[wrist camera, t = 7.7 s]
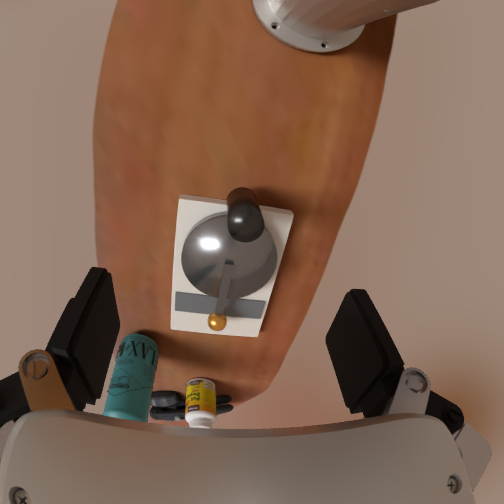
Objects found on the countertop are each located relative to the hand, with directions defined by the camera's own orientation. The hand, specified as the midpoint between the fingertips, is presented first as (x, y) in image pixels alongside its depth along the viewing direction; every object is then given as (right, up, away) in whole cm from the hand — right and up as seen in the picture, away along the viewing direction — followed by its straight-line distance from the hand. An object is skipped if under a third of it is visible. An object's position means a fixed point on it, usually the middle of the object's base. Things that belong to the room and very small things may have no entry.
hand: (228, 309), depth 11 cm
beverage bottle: (-17, -12, +32) cm, 38 cm away
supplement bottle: (-9, -23, +40) cm, 47 cm away
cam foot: (-2, +2, +23) cm, 24 cm away
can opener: (-12, -28, +42) cm, 52 cm away
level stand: (-3, -1, +27) cm, 27 cm away
